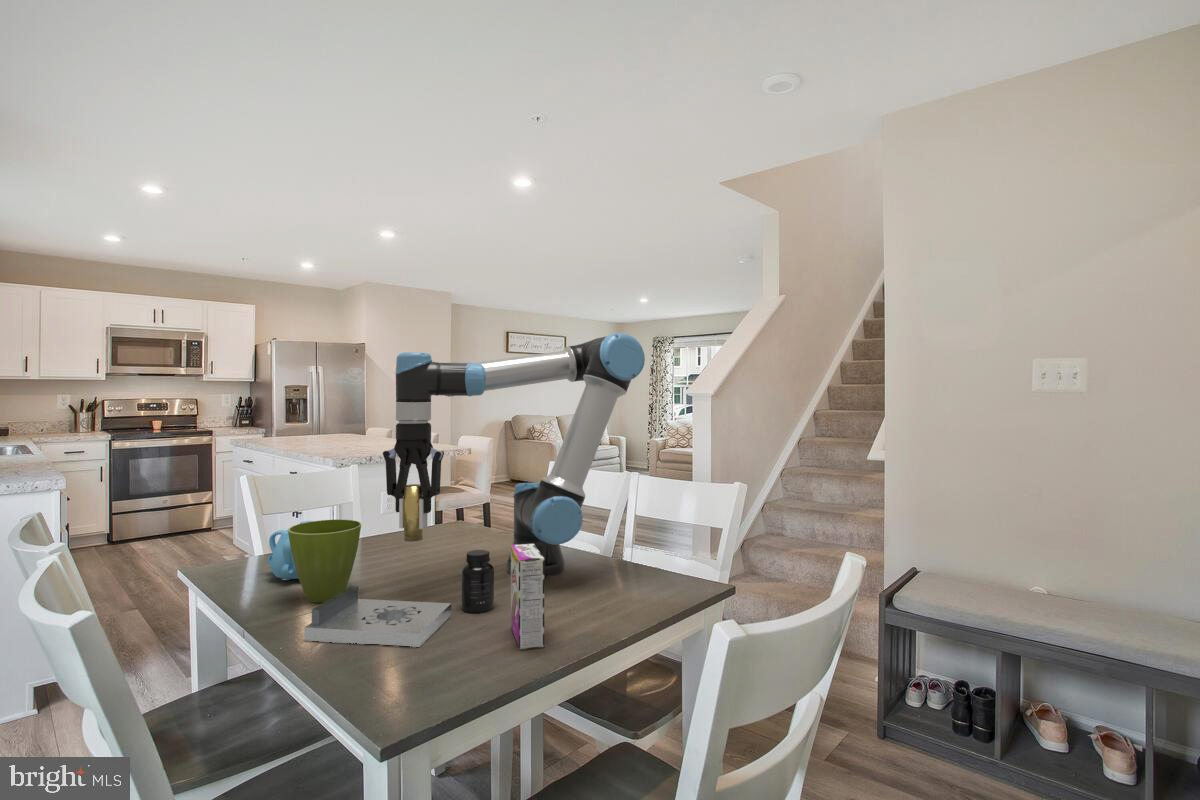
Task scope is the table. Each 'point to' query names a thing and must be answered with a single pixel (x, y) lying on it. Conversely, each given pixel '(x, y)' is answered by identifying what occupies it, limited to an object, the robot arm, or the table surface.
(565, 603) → the table surface
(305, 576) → the flower pot
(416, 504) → the cylinder
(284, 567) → the decorative pot
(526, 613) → the candy bar box
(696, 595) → the table surface
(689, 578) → the table surface
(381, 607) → the plate
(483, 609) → the supplement bottle
